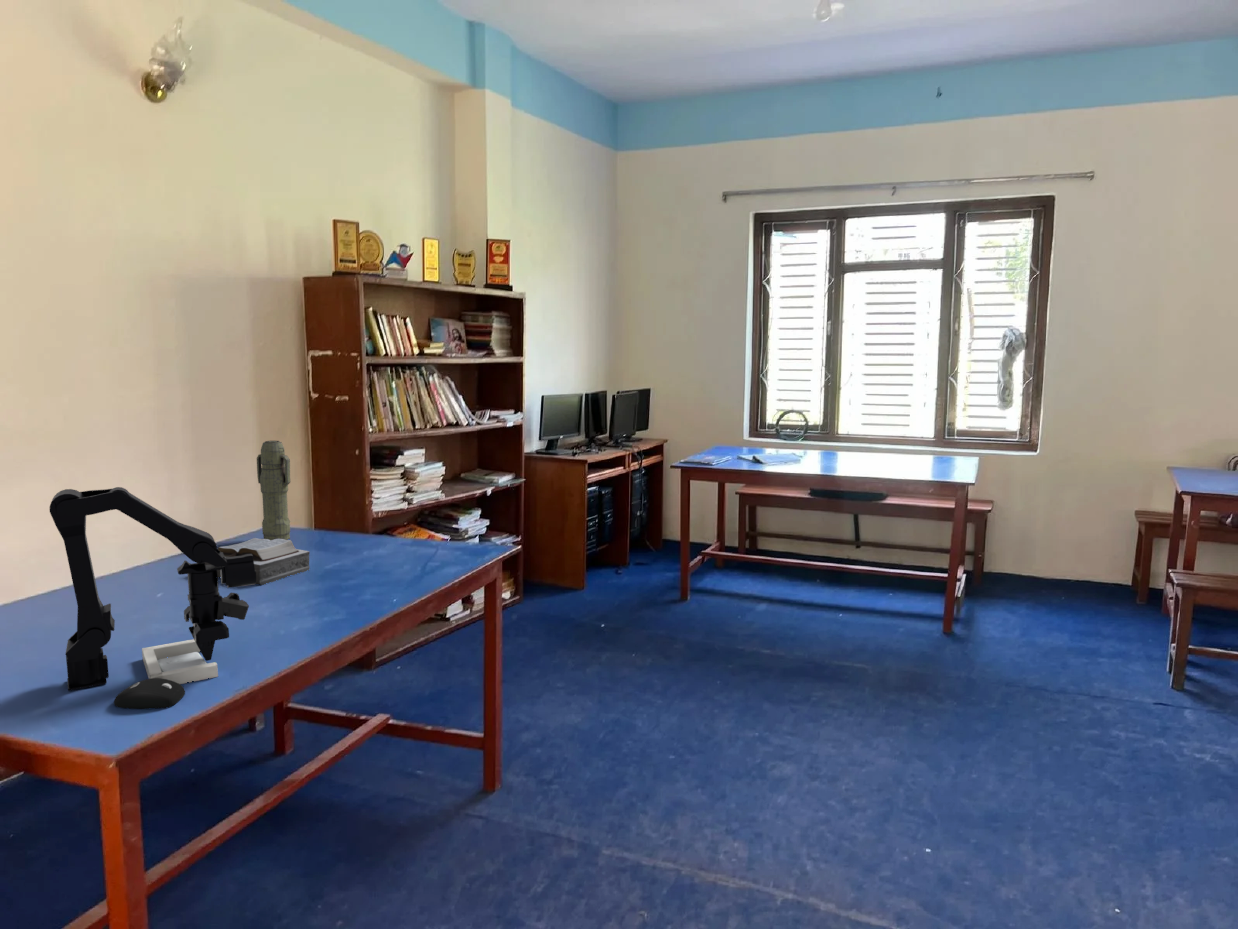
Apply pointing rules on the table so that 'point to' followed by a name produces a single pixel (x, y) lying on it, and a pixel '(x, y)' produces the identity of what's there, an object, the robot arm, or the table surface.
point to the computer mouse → (150, 694)
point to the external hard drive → (181, 661)
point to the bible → (270, 558)
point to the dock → (177, 675)
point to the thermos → (274, 489)
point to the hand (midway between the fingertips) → (208, 660)
